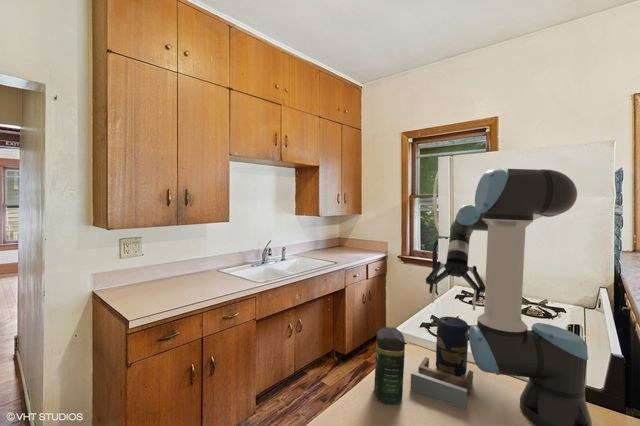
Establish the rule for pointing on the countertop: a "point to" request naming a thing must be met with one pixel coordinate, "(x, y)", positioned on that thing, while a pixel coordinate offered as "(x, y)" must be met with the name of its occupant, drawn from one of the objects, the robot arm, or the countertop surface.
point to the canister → (452, 346)
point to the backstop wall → (439, 390)
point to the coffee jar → (389, 365)
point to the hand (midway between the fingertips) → (452, 305)
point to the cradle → (446, 376)
